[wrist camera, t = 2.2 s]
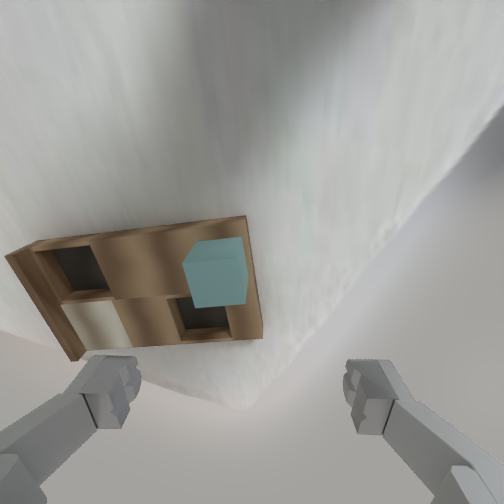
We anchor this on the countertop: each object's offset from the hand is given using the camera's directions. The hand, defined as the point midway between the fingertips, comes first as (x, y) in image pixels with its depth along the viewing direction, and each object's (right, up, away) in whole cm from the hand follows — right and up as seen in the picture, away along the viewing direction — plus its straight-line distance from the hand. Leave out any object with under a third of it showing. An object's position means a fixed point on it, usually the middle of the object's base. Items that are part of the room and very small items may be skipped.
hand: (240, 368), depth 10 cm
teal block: (-3, +4, +18) cm, 18 cm away
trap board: (-12, 0, +23) cm, 26 cm away
